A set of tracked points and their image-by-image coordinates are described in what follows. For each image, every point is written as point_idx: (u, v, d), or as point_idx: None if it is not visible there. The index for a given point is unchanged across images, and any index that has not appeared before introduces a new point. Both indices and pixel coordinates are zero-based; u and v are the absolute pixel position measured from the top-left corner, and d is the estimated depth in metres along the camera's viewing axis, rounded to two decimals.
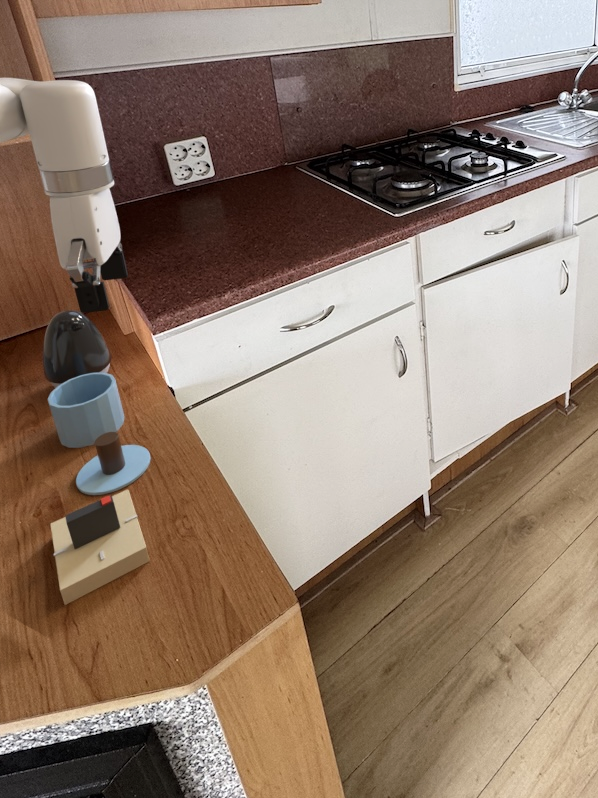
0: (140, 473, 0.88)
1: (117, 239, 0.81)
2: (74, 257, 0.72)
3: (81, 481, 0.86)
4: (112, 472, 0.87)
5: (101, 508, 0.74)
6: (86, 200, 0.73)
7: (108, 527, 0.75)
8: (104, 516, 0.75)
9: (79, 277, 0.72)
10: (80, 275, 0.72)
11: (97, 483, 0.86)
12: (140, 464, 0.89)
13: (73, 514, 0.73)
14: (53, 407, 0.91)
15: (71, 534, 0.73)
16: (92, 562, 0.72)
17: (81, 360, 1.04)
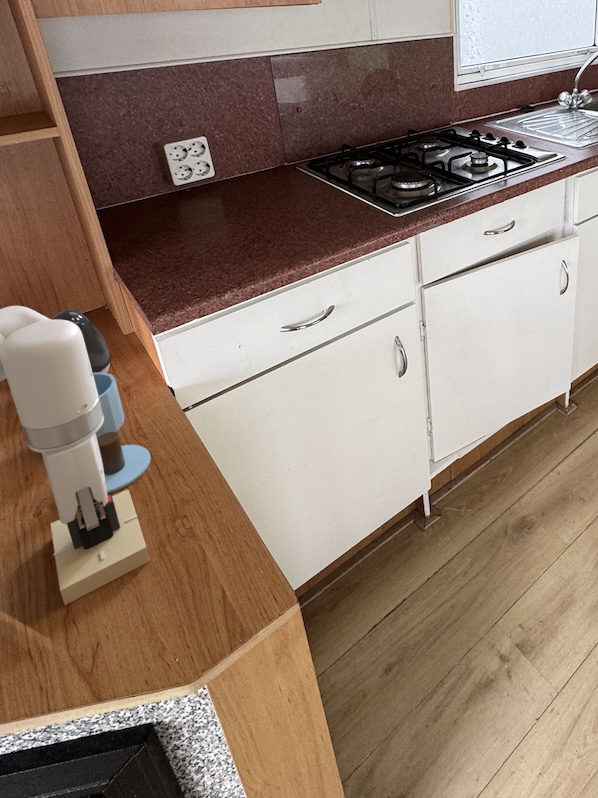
0: (140, 473, 0.88)
1: None
2: (91, 516, 0.69)
3: None
4: (112, 472, 0.87)
5: None
6: (89, 446, 0.68)
7: None
8: None
9: None
10: None
11: None
12: (140, 464, 0.89)
13: None
14: None
15: (71, 534, 0.73)
16: (92, 562, 0.72)
17: None
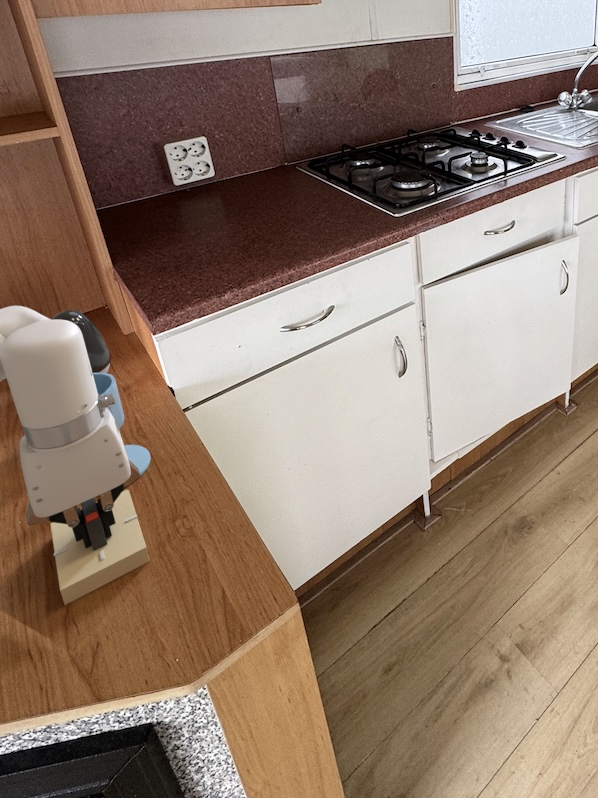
0: (140, 473, 0.88)
1: (108, 485, 0.73)
2: (28, 512, 0.69)
3: None
4: None
5: (84, 518, 0.73)
6: (26, 457, 0.66)
7: None
8: None
9: None
10: (43, 522, 0.70)
11: None
12: (140, 464, 0.89)
13: (89, 499, 0.75)
14: None
15: None
16: (92, 562, 0.72)
17: None
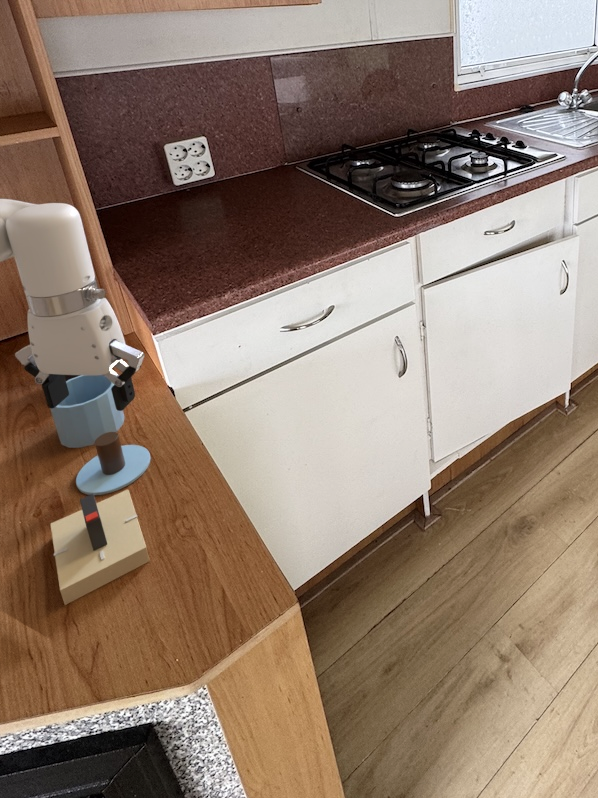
0: (140, 473, 0.88)
1: (87, 370, 0.78)
2: (24, 347, 0.79)
3: (81, 481, 0.86)
4: (112, 472, 0.87)
5: (84, 518, 0.73)
6: None
7: None
8: None
9: None
10: None
11: (97, 483, 0.86)
12: (140, 464, 0.89)
13: (89, 499, 0.75)
14: None
15: None
16: (92, 562, 0.72)
17: None
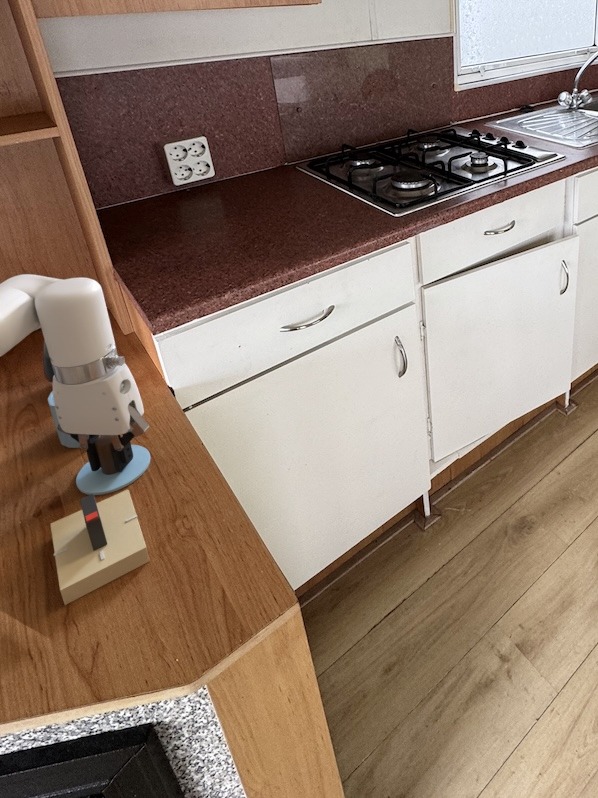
0: (140, 473, 0.88)
1: (107, 430, 0.84)
2: None
3: (81, 481, 0.86)
4: (112, 472, 0.87)
5: (84, 518, 0.73)
6: (53, 380, 0.81)
7: None
8: None
9: None
10: (68, 433, 0.86)
11: (97, 483, 0.86)
12: (140, 464, 0.89)
13: (89, 499, 0.75)
14: (53, 407, 0.91)
15: None
16: (92, 562, 0.72)
17: None
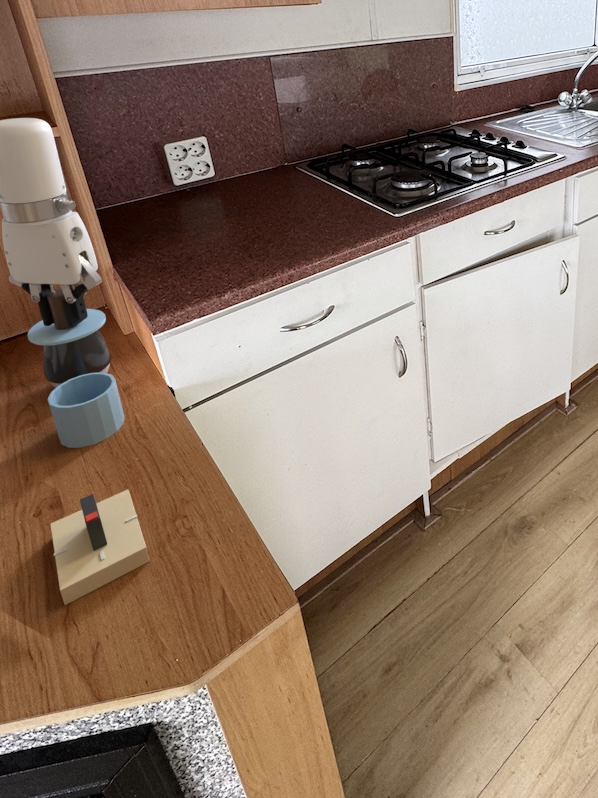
0: (93, 329, 0.86)
1: (58, 279, 0.82)
2: None
3: (32, 334, 0.85)
4: (65, 327, 0.86)
5: (84, 518, 0.73)
6: (2, 223, 0.80)
7: None
8: None
9: None
10: (20, 286, 0.85)
11: (49, 335, 0.84)
12: (94, 323, 0.88)
13: (89, 499, 0.75)
14: (53, 407, 0.91)
15: None
16: (92, 562, 0.72)
17: (81, 360, 1.04)
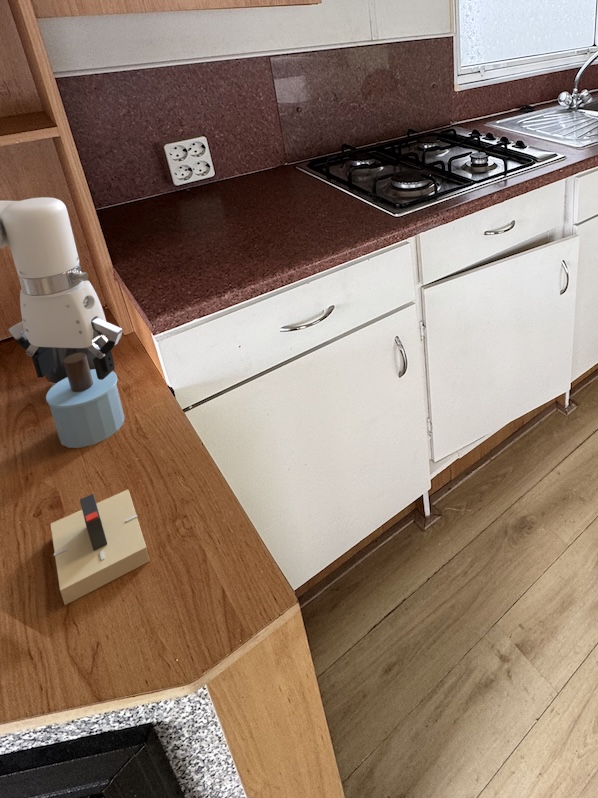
0: (106, 391, 0.94)
1: (72, 343, 0.89)
2: (17, 324, 0.91)
3: (50, 397, 0.92)
4: (80, 389, 0.93)
5: (84, 518, 0.73)
6: (20, 294, 0.87)
7: None
8: None
9: None
10: (15, 337, 0.91)
11: (65, 398, 0.91)
12: (107, 384, 0.95)
13: (89, 499, 0.75)
14: (53, 407, 0.91)
15: None
16: (92, 562, 0.72)
17: None
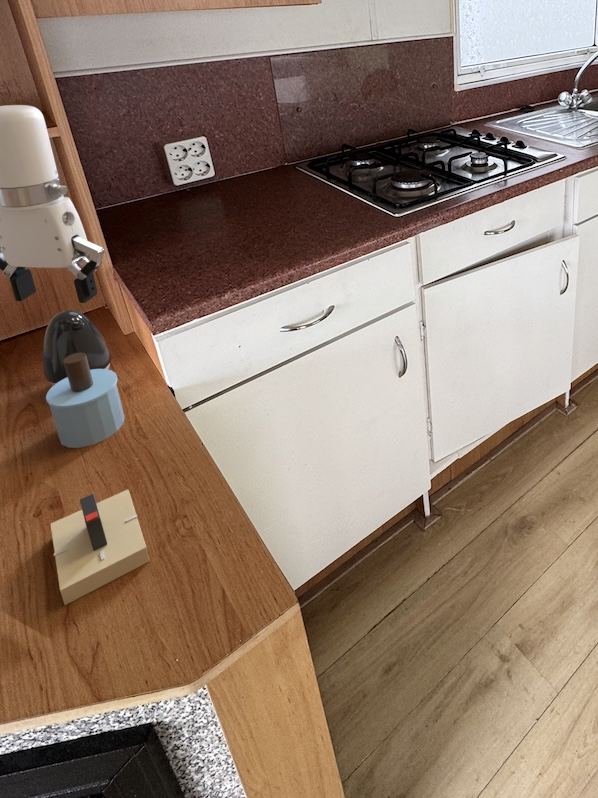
0: (106, 391, 0.94)
1: (51, 262, 0.84)
2: None
3: (50, 397, 0.92)
4: (80, 389, 0.93)
5: (84, 518, 0.73)
6: None
7: None
8: None
9: None
10: None
11: (65, 398, 0.91)
12: (107, 384, 0.95)
13: (89, 499, 0.75)
14: (53, 407, 0.91)
15: None
16: (92, 562, 0.72)
17: None
